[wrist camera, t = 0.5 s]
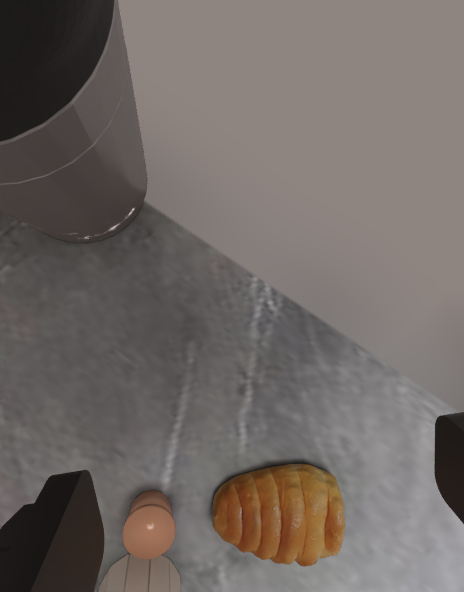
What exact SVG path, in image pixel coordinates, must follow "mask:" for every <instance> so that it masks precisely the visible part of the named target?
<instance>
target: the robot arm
mask: <svg viewBox="0 0 464 592" xmlns="http://www.w3.org/2000/svg"><path fill="white" fill-rule="evenodd" d="M146 190H147V172H146V165H145V159H144V151H143V145H142V139H141V133H140V128H139V121H138V115H137V109H136V103H135V97H134V91H133V86H132V80H131V74H130V68H129V62H128V56H127V50H126V45H125V41H124V35H123V29H122V23H121V17H120V11H119V5H118V0H0V210H2V211H4V212H5V213H7V214H9V215H11V216H13V217H15V218H17V219H19V220H21V221H23V222H24V223H26V224H28V225H30V226H32V227H34V228H36V229H38V230H39V231H41V232H43V233H45V234H47V235H50V236H52V237H54V238H57V239H59V240H63V241H68V242H73V243H90V242H95V241H100V240H104V239H106V238H108V237H111V236H113V235H115V234H117V233H118V232H120V231H121V230H123V229H124V228H125V227H127V226H128V224H129V223H130V222H131V221H132V220H133V219H134V218H135V217H136V215H137V213H138V212H139V210H140V208H141V207H142V204H143V201H144V198H145V195H146ZM435 479H436V483H437V486H438V489H439V491H440V493H441V495H442V497H443V499H444V500H445V502H446V503H447V504H448V506H449V507H450V508H451V509H452V510H453V512H454V513H455V514H456V515H457V516H458V518H459V519H460V520H461V521H462V522H463V524H464V412H461V413H455V414H448V415H442V416H439V417H438V418H437V420H436V423H435ZM103 552H104V528H103V523H102V519H101V515H100V511H99V506H98V502H97V498H96V494H95V490H94V486H93V481H92V478H91V475H90V473H89V471H87V470H83V471H76V472H70V473H64V474H57V475H52V476H50V477H49V478H48V480H47V481H46V483H45V485H44V487H43V489H42V491H41V492H40V494H39V496H38V498H37V500H36V502H35V503H34V504H27V505H24V506H23V507H22V508H21V509H20V510H19V511H18V512H17V513H16V514H15V515H14V516H13V517H12V518H11V519H10V520H8V521H7V522H6V523H5V524H4V525H3V526H2V528H1V529H0V592H94V588H95V585H96V581H97V577H98V573H99V570H100V566H101V562H102V558H103Z"/></svg>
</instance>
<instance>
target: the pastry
mask: <svg viewBox="0 0 464 592" xmlns="http://www.w3.org/2000/svg"><path fill="white" fill-rule="evenodd" d="M343 510H344V505H343V500H342V495H341V491H340V488H339V486H338V483H337V480H336V478H335V477H334V476H333V475H332V474H330V473H328V472H326V471H324V470H321V469H318V468H316V467H314V466H312V465H307V464H293V463H292V464H287V465H279V466H275V467H268V468H265V469H261V470H257V471H252V472H248V473H245V474H241V475H238V476H235V477H234V478H232V479H231V480H229V481H227V482H226V483H224V484H223V485H221V486H220V488H219V489H218V490H217V492H216V493H215V496H214V501H213V527H214V529H215V531H217V533H218V534H219V535H220V536H221V538H222V539H223V540H224V541H226V542H229V543H231V544H233V545H235V546H236V547H237V548H238V549H239V550H240V551H242V552H243V553H244V552H252V553H253V554H254V555H255V556H257V557H259V558H260V559H262V560H265V559H271V560H272V561H273V562H275V563H283V564H290V563H292V562H293V561H294V560H295V561H296V562H297V563H298V564H300V565H301V566H310V565H313V564H315V563H316V561H317V560H318V559H319V558H326V557H329V556H331V555H334V556H335V555H337V553H338V552H339V551H340V549H341V545H342V542H343V536H344V529H345V519H344V514H343Z"/></svg>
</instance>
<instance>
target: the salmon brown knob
mask: <svg viewBox="0 0 464 592" xmlns="http://www.w3.org/2000/svg"><path fill="white" fill-rule="evenodd" d="M174 537H175V521H174V518H173V516H172V505H171V502H170V500H169V499H168V497H167V496H166V495H165V494H163V493H161V492H159V491H147V492H144V493H142V494H140V495H139V496H138V497H137V498H136V499H135V500H134V501H133V503H132V505H131V507H130V512H129V516H128V518H127V519H126V521H125V524H124V528H123V543H124V546H125V548H126V549H127V551H128V552H129V553H130V554H132V555H133V556H135V557H137V558H140V559H153V558H156V557H158V556H160V555H162V554H163V553H165V552H166V551H167V550H168V549H169V548H170V546H171V545H172V543H173V541H174Z"/></svg>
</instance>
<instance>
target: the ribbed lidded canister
mask: <svg viewBox="0 0 464 592" xmlns="http://www.w3.org/2000/svg"><path fill="white" fill-rule="evenodd" d="M99 592H181V580H180V574H179V573H178V571H177V570H176V568H175V567H174V565H173V563H172V562H171V560H169V558H166V557H164V556H162V555H160V556H158V557H156V558H153V559H140V558H137V557H135V556H133V555H132V554H130V555H129V554H128V555H126V556H125V557H123V558H122V559H120V560H119V561H117V562H116V563H114V564H113V565H111V567H110V568H109V570H108V572H107V574H106V575H105V577H104V579H103V581H102V583H101V585H100V588H99Z"/></svg>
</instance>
